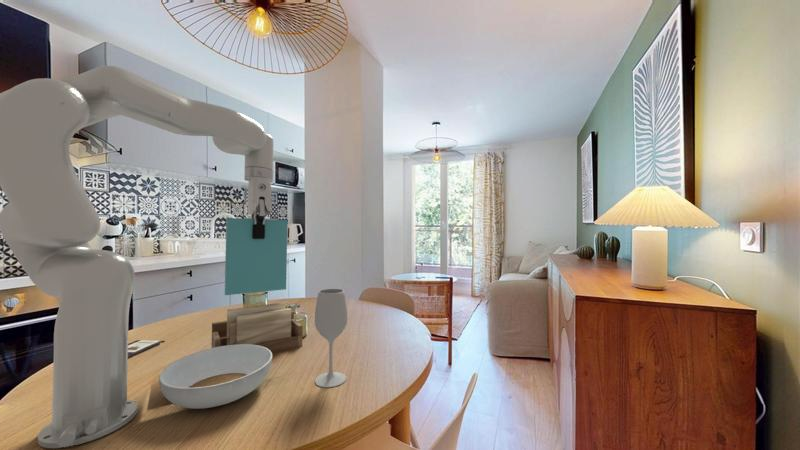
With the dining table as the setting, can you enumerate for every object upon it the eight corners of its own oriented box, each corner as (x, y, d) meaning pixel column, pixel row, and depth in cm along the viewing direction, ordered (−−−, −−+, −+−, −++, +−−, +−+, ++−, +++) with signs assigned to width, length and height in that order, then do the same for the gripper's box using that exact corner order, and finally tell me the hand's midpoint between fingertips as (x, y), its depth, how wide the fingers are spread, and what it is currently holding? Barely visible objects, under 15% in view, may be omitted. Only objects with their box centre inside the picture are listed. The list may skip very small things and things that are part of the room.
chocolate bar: (73, 365, 78) (137, 340, 96) (73, 369, 78) (137, 343, 96) (107, 366, 78) (164, 340, 96) (107, 370, 78) (164, 343, 96)
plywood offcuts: (290, 347, 88) (291, 303, 89) (227, 360, 79) (228, 312, 79) (287, 343, 91) (288, 301, 91) (226, 356, 82) (227, 309, 82)
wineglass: (314, 390, 68) (314, 295, 68) (314, 374, 75) (314, 288, 75) (348, 385, 70) (349, 293, 70) (345, 370, 77) (345, 287, 77)
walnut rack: (302, 351, 89) (302, 318, 90) (214, 370, 77) (215, 332, 77) (292, 340, 98) (292, 311, 98) (211, 357, 85) (211, 322, 85)
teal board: (286, 289, 92) (287, 219, 93) (225, 295, 83) (227, 218, 84) (284, 288, 94) (285, 220, 95) (224, 294, 85) (226, 218, 85)
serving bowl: (151, 393, 66) (152, 361, 66) (252, 364, 81) (253, 337, 81) (167, 441, 51) (168, 400, 51) (288, 394, 66) (288, 362, 66)
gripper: (279, 173, 85) (278, 239, 85) (266, 180, 98) (265, 238, 97) (249, 169, 81) (248, 239, 80) (240, 178, 94) (238, 238, 93)
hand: (257, 238), depth 89 cm, fingers closed on teal board, 2 cm apart
